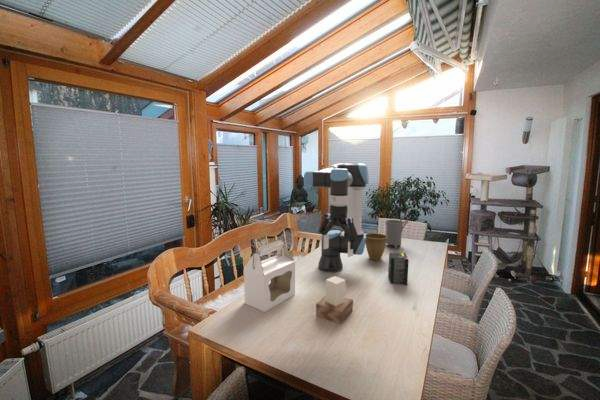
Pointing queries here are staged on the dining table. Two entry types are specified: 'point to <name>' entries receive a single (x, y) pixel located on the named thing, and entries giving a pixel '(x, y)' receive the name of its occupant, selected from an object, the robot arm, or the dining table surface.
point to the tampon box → (398, 268)
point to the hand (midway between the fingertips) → (337, 252)
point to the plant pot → (375, 245)
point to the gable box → (269, 277)
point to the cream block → (335, 291)
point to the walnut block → (334, 310)
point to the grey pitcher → (394, 231)
